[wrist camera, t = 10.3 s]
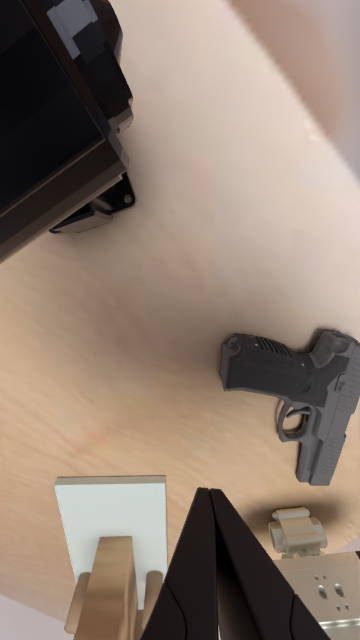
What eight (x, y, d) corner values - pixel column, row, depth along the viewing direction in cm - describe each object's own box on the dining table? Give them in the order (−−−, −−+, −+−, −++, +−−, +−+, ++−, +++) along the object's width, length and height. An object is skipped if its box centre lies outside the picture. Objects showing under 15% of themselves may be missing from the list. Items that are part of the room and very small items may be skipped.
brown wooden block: (100, 536, 26) (64, 678, 18) (132, 536, 26) (111, 677, 18) (110, 604, 30) (85, 747, 22) (138, 604, 30) (124, 746, 22)
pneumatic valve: (339, 524, 28) (454, 723, 16) (238, 536, 28) (282, 739, 17) (343, 490, 26) (475, 685, 15) (236, 503, 26) (283, 704, 15)
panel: (57, 477, 25) (31, 531, 20) (165, 475, 25) (163, 528, 20) (85, 606, 32) (70, 667, 27) (168, 604, 32) (167, 664, 27)
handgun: (214, 494, 23) (338, 495, 23) (225, 344, 17) (394, 344, 17) (210, 463, 26) (320, 463, 26) (218, 326, 20) (362, 326, 20)
